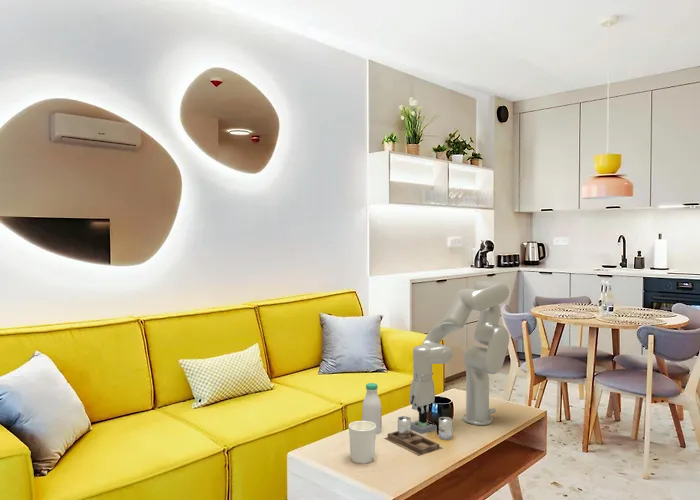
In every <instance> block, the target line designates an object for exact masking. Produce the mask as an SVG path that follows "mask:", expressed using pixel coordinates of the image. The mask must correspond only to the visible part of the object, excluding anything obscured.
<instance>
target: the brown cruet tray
mask: <svg viewBox="0 0 700 500" xmlns="http://www.w3.org/2000/svg"><path fill="white" fill-rule="evenodd" d="M383 439H384V440H386V441H387V442H390V443H392V444H394V445H396V446H398V447H400V448H402V449H404V450H406V451H408V452H409V453H412V454H413V455H416V456H418V457H420V456H424V455H426V454H429V453H432V452H435V451H439V450H442V449H444V448H443V447H441V446H440V444H439V443H438V442H436V441H433V440H431V439H428V438H426V437H424V436H422V435H421V434H417V432H416V433H415V432H413V431H411V438H407V439H404V440H403V439H401V438H399V437H398V430H396V431H393V432H389V433H387V437H385V438H383Z"/></svg>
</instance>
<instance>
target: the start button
mask: <svg viewBox="0 0 700 500" xmlns="http://www.w3.org/2000/svg"><path fill="white" fill-rule="evenodd" d="M417 421H418V426H420V427H424V426H427V422H425V423H422V422H420V421H419V420H417Z"/></svg>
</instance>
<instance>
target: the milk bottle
mask: <svg viewBox="0 0 700 500" xmlns="http://www.w3.org/2000/svg"><path fill="white" fill-rule="evenodd" d="M365 390H366V393H365V396H364V398H363V401H362V412H361V415H362V417H361V421H369V422H373V423H375V424H376V435H378V434H381V433H382V426H383V425H382V403H381V399H380V397H379V394H378V384H377V383H374V382H369V383H366V385H365Z"/></svg>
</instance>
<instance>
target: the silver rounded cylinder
mask: <svg viewBox="0 0 700 500" xmlns="http://www.w3.org/2000/svg"><path fill="white" fill-rule="evenodd" d="M452 431H453V419H452V418H451V417H449V416H440V417H438V439H439V440H443V441H449V440H452V439H453V432H452Z"/></svg>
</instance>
